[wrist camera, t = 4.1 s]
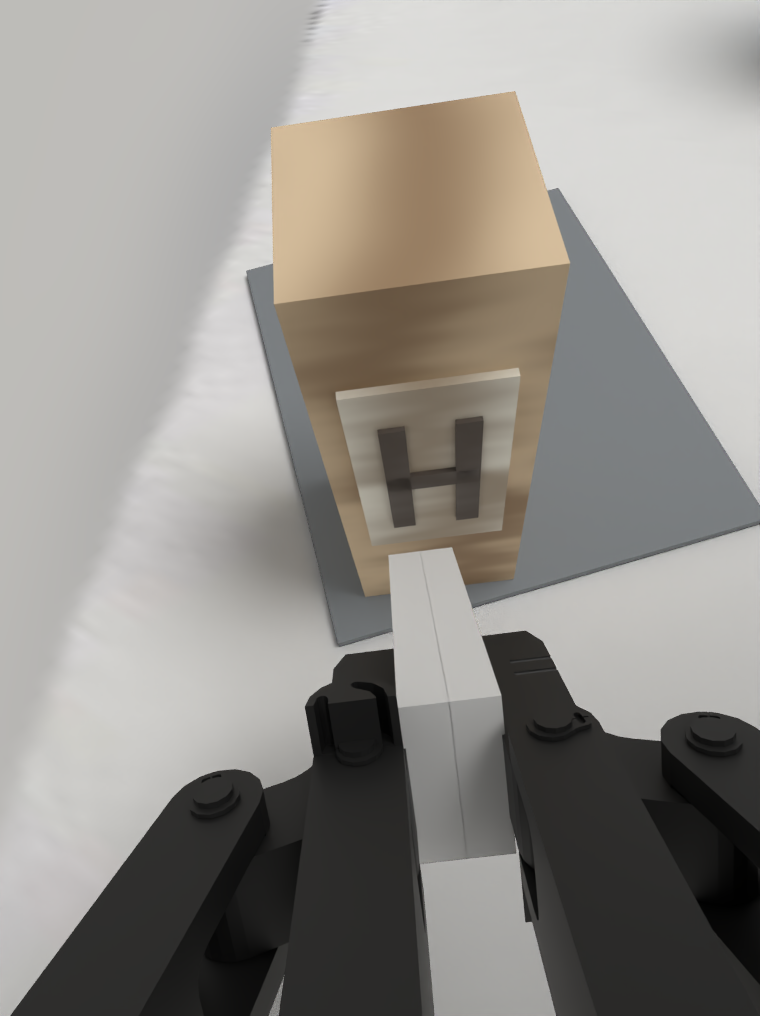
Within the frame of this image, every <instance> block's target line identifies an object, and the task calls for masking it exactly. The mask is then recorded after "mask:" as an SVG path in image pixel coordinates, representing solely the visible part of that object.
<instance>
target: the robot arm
mask: <svg viewBox="0 0 760 1016" xmlns="http://www.w3.org/2000/svg"><path fill="white" fill-rule="evenodd" d="M388 557H389V574H390V592H391V610H392V628H393V645H394V649H388V650H379V651H371V652H363V653H355V654H347V655H345V656H344V657H343V658H342V660H341V661H340V662H339V663H338V664H337V666H336V667H335V668H334V671H333V679H332V683H331V684H329V685H327V686H324V687H322V688H320V689H319V690H318V691H317V692H315V693H314V694H313V695H312V696H310V698H309V700H308V702H307V704H306V705H305V710H306V715H307V721H308V727H309V732H310V738H311V743H312V749H313V754H314V758H313V766H311V767H310V768H309V769H308V770H307V771H305V772H303V773H302V774H300V775H299V776H297V777H295V778H292V779H290V780H288V781H285V782H283V783H280V784H277V785H274V786H271V787H268V788H265V789H263V788H262V785H261V782H260V779H259V778H257V777H256V776H254V775H253V774H252V773H250V772H246V771H241V770H236V769H234V770H223V771H217V772H213V773H210V774H207V775H204V776H201V777H199V778H197V779H196V780H194V781H192V782H191V783H189V784H187V785H186V786H184V787H183V788H182V789H181V790H180V791H179V792H178V793H177V794H176V795H175V796H174V797H173V798H172V799H171V800H170V802H169V803H168V805H167V806H166V807H165V809H164V810H163V811H162V813H161V814H160V815H159V817H158V818H157V819H156V821H155V822H154V823H153V825H152V826H151V827H150V829H149V830H148V831H147V833H146V834H145V835H144V837H143V838H142V839H141V841H140V842H139V843H138V845H137V846H136V848H135V849H134V850H133V852H132V853H131V854H130V856H129V857H128V858H127V860H126V861H125V862H124V864H123V865H122V866H121V868H120V869H119V870H118V872H117V873H116V874H115V876H114V877H113V878H112V880H111V881H110V882H109V884H108V885H107V887H106V888H105V889H104V891H103V892H102V893H101V895H100V896H99V897H98V899H97V900H96V901H95V903H94V904H93V905H92V907H91V908H90V909H89V911H88V912H87V913H86V915H85V916H84V917H83V919H82V920H81V921H80V923H79V924H78V925H77V927H76V928H75V930H74V931H73V932H72V934H71V935H70V936H69V938H68V939H67V940H66V942H65V943H64V944H63V946H62V947H61V948H60V950H59V951H58V952H57V954H56V955H55V956H54V958H53V959H52V960H51V962H50V963H49V964H48V966H47V967H46V969H45V970H44V971H43V973H42V974H41V975H40V977H39V978H38V979H37V981H36V982H35V983H34V985H33V986H32V987H31V989H30V990H29V991H28V993H27V994H26V995H25V997H24V998H23V999H22V1001H21V1002H20V1003H19V1005H18V1006H17V1007H16V1009H15V1010H14V1012H13V1013H12V1014H11V1016H268V1015H269V1013H270V1010H271V1008H272V1005H273V1002H274V1000H275V997H276V995H277V992H278V990H279V987H280V984H281V982H282V979H283V977H284V982H283V989H282V996H281V1004H280V1011H279V1016H434V1005H433V993H432V982H431V970H430V959H429V948H428V936H427V925H426V914H425V902H424V891H423V884H422V877H421V870H420V864H425V863H433V862H442V861H451V860H460V859H469V858H478V857H487V856H495V855H504V854H513V853H516V846H515V838H516V841H517V845H518V849H519V857H520V868H521V879H522V890H523V901H524V912H525V922H532V923H533V926H534V930H535V934H536V938H537V942H538V946H539V950H540V954H541V958H542V962H543V965H544V969H545V973H546V977H547V981H548V985H549V989H550V993H551V997H552V1001H553V1005H554V1008H555V1012H556V1016H760V730H758V729H757V728H755V727H754V726H752V725H750V724H748V723H746V722H744V721H742V720H740V719H738V718H734V717H731V716H727V715H723V714H720V713H713V712H694V713H687V714H681V715H679V716H676V717H674V718H672V719H670V720H668V721H667V722H666V723H665V725H664V726H663V727H662V729H661V741H653V740H641V739H631V738H625V737H619V736H615V735H612V734H609V733H605V732H604V730H603V728H602V727H601V725H600V723H599V721H598V720H597V719H596V718H595V717H594V716H593V715H592V714H591V713H590V712H588V711H586V710H584V709H582V708H580V707H578V706H576V705H575V703H574V701H573V699H572V697H571V695H570V693H569V691H568V689H567V688H566V686H565V684H564V682H563V680H562V678H561V676H560V674H559V672H558V670H556V666H555V664H554V662H553V660H552V658H550V655H549V653H548V651H547V649H546V647H545V645H544V643H543V641H541V640H540V639H538V638H536V637H535V636H533V635H532V634H530V633H529V632H527V631H520V632H511V633H503V634H495V635H487V636H481V633H480V630H479V627H478V624H477V621H476V618H475V615H474V612H473V609H472V606H471V603H470V600H469V597H468V594H467V591H466V588H465V585H464V582H463V579H462V576H461V573H460V570H459V567H458V564H457V561H456V558H455V555H454V552H453V549H452V547H449V548H441V549H433V550H425V551H417V552H409V553H401V554H393V555H388ZM514 834H515V836H514Z"/></svg>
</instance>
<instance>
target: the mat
mask: <svg viewBox="0 0 760 1016" xmlns="http://www.w3.org/2000/svg"><path fill="white" fill-rule="evenodd" d="M547 192H548V195H549V198H550V202H551V205H552V208H553V211H554V214H555V217H556V220H557V223H558V227H559V230H560V233H561V236H562V239H563V242H564V245H565V248H566V251H567V255H568V258H569V261H570V267H569V273H568V279H567V284H566V290H565V295H564V301H563V306H562V312H561V318H560V323H559V329H558V334H557V340H556V346H555V351H554V357H553V362H552V368H551V374H550V379H549V385H548V390H547V396H546V401H545V407H544V413H543V418H542V424H541V429H540V435H539V441H538V446H537V452H536V457H535V463H534V469H533V474H532V480H531V485H530V491H529V496H528V502H527V508H526V513H525V519H524V524H523V530H522V536H521V541H520V547H519V552H518V558H517V564H516V569H515V575H514V579H511V580H502V581H494V582H486V583H477V584H469V585H465V588H466V591H467V594H468V597H469V600H470V603H471V606H472V608H473V607H477V606H480V605H484V604H487V603H491V602H494V601H497V600H501V599H504V598H508V597H511V596H515V595H518V594H521V593H525V592H528V591H532V590H535V589H539V588H542V587H545V586H549V585H552V584H556V583H559V582H562V581H566V580H569V579H573V578H576V577H580V576H583V575H586V574H590V573H593V572H597V571H600V570H604V569H607V568H610V567H614V566H617V565H621V564H624V563H628V562H631V561H634V560H638V559H641V558H645V557H648V556H652V555H655V554H658V553H662V552H665V551H669V550H672V549H676V548H679V547H682V546H686V545H689V544H693V543H696V542H700V541H703V540H706V539H710V538H713V537H717V536H720V535H724V534H727V533H730V532H734V531H737V530H741V529H744V528H748V527H751V526H754V525H758V524H760V505H759V503H758V502H757V500H756V499H755V497H754V495H753V494H752V492H751V491H750V489H749V488H748V486H747V484H746V483H745V481H744V480H743V478H742V477H741V475H740V473H739V472H738V470H737V469H736V467H735V466H734V464H733V462H732V461H731V459H730V458H729V456H728V455H727V453H726V451H725V450H724V448H723V447H722V445H721V444H720V442H719V440H718V439H717V437H716V436H715V434H714V432H713V431H712V429H711V428H710V426H709V425H708V423H707V421H706V420H705V418H704V417H703V415H702V414H701V412H700V410H699V409H698V407H697V406H696V404H695V403H694V401H693V399H692V398H691V396H690V395H689V393H688V392H687V390H686V388H685V387H684V385H683V384H682V382H681V381H680V379H679V377H678V376H677V374H676V373H675V371H674V370H673V368H672V366H671V365H670V363H669V362H668V360H667V359H666V357H665V355H664V354H663V352H662V351H661V349H660V348H659V346H658V344H657V343H656V341H655V340H654V338H653V336H652V335H651V333H650V332H649V330H648V329H647V327H646V325H645V324H644V322H643V321H642V319H641V318H640V316H639V314H638V313H637V311H636V310H635V308H634V307H633V305H632V303H631V302H630V300H629V299H628V297H627V296H626V294H625V292H624V291H623V289H622V288H621V286H620V285H619V283H618V281H617V280H616V278H615V277H614V275H613V274H612V272H611V270H610V269H609V267H608V266H607V264H606V263H605V261H604V259H603V258H602V256H601V255H600V253H599V252H598V250H597V248H596V247H595V245H594V244H593V242H592V240H591V239H590V237H589V236H588V234H587V233H586V231H585V229H584V228H583V226H582V225H581V223H580V222H579V220H578V218H577V217H576V215H575V214H574V212H573V211H572V209H571V207H570V206H569V204H568V203H567V201H566V200H565V198H564V196H563V195H562V193H561V192H560V190H559V189H558V188H556V189H553V190H549V191H547ZM246 272H247V276H248V281H249V285H250V289H251V293H252V297H253V301H254V305H255V309H256V313H257V317H258V321H259V325H260V329H261V333H262V337H263V342H264V346H265V350H266V354H267V358H268V362H269V366H270V370H271V374H272V378H273V382H274V386H275V390H276V394H277V398H278V402H279V407H280V411H281V415H282V419H283V423H284V427H285V431H286V435H287V439H288V443H289V447H290V451H291V455H292V459H293V463H294V468H295V472H296V476H297V480H298V484H299V488H300V492H301V496H302V500H303V504H304V508H305V512H306V516H307V520H308V524H309V529H310V533H311V537H312V541H313V545H314V549H315V553H316V557H317V561H318V565H319V569H320V573H321V577H322V581H323V585H324V590H325V594H326V598H327V602H328V606H329V610H330V614H331V618H332V622H333V626H334V630H335V634H336V638H337V642H338V645H339V647H340V646H343V645H347V644H350V643H353V642H357V641H360V640H364V639H367V638H371V637H374V636H377V635H381V634H384V633H388V632H391V631H393V628H392V610H391V594H385V595H377V596H369V597H365V594H364V591H363V588H362V585H361V582H360V578H359V575H358V572H357V569H356V566H355V562H354V559H353V556H352V553H351V550H350V546H349V543H348V540H347V537H346V534H345V530H344V527H343V524H342V521H341V518H340V514H339V511H338V508H337V505H336V502H335V498H334V495H333V492H332V489H331V485H330V482H329V479H328V476H327V473H326V469H325V466H324V463H323V460H322V457H321V453H320V450H319V447H318V444H317V441H316V437H315V434H314V431H313V428H312V425H311V421H310V418H309V415H308V412H307V409H306V405H305V402H304V399H303V396H302V393H301V389H300V386H299V383H298V380H297V377H296V373H295V370H294V367H293V364H292V361H291V357H290V354H289V351H288V348H287V345H286V341H285V338H284V335H283V332H282V329H281V325H280V322H279V319H278V316H277V313H276V309H275V306H274V281H273V264H270V265H266V266H263V267H259V268H255V269H251V270H248V271H246Z"/></svg>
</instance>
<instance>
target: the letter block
mask: <svg viewBox="0 0 760 1016" xmlns="http://www.w3.org/2000/svg"><path fill="white" fill-rule="evenodd" d="M271 161H272V221H273V281H274V306H275V309H276V313H277V316H278V319H279V322H280V325H281V329H282V332H283V335H284V338H285V341H286V345H287V348H288V351H289V354H290V357H291V361H292V364H293V367H294V370H295V373H296V377H297V380H298V383H299V386H300V389H301V393H302V396H303V399H304V402H305V405H306V409H307V412H308V415H309V418H310V421H311V425H312V428H313V431H314V434H315V437H316V441H317V444H318V447H319V450H320V453H321V457H322V460H323V463H324V466H325V469H326V473H327V476H328V479H329V482H330V485H331V489H332V492H333V495H334V498H335V502H336V505H337V508H338V511H339V514H340V518H341V521H342V524H343V527H344V530H345V534H346V537H347V540H348V543H349V546H350V550H351V553H352V556H353V559H354V562H355V566H356V569H357V572H358V575H359V578H360V582H361V585H362V588H363V591H364V594H365V597H369V596H377V595H385V594H391V592H390V574H389V557H388V555H393V554H401V553H409V552H417V551H425V550H433V549H441V548H449V547H452V549H453V552H454V555H455V558H456V561H457V564H458V567H459V570H460V573H461V576H462V579H463V582H464V585H469V584H477V583H486V582H494V581H502V580H511V579H514V575H515V569H516V564H517V558H518V552H519V547H520V541H521V536H522V530H523V524H524V519H525V513H526V508H527V502H528V496H529V491H530V485H531V480H532V474H533V469H534V463H535V457H536V452H537V446H538V441H539V435H540V429H541V424H542V418H543V413H544V407H545V401H546V396H547V390H548V385H549V379H550V374H551V368H552V362H553V357H554V351H555V346H556V340H557V334H558V329H559V323H560V318H561V312H562V306H563V301H564V295H565V290H566V284H567V279H568V273H569V267H570V261H569V258H568V255H567V251H566V248H565V245H564V242H563V239H562V236H561V233H560V230H559V227H558V223H557V220H556V217H555V214H554V211H553V208H552V205H551V202H550V198H549V195H548V192H547V189H546V186H545V183H544V180H543V177H542V174H541V170H540V167H539V164H538V161H537V158H536V155H535V152H534V149H533V145H532V142H531V139H530V136H529V133H528V130H527V127H526V124H525V121H524V117H523V114H522V111H521V108H520V105H519V102H518V99H517V96H516V92H515V91H514V92H507V93H500V94H494V95H487V96H480V97H474V98H467V99H460V100H454V101H447V102H440V103H433V104H427V105H420V106H413V107H407V108H400V109H393V110H387V111H380V112H373V113H367V114H360V115H353V116H346V117H340V118H333V119H326V120H320V121H313V122H306V123H300V124H293V125H286V126H279V127H273V128H271Z"/></svg>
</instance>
